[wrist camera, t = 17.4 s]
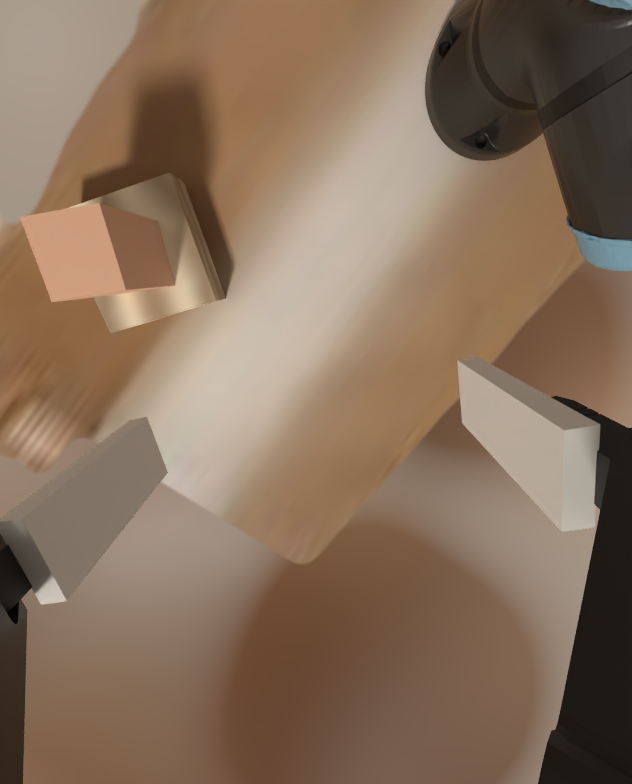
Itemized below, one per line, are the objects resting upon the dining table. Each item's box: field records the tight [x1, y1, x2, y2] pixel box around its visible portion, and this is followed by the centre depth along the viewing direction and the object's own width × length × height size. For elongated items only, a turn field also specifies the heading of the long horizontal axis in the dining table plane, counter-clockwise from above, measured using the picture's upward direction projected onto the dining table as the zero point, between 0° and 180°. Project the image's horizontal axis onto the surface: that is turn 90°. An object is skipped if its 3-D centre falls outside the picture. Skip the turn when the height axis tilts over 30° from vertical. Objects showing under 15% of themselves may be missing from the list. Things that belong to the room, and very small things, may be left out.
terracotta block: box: [20, 203, 175, 302], centre depth 36 cm, size 7×7×11 cm
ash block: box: [67, 173, 226, 333], centre depth 44 cm, size 14×14×5 cm
